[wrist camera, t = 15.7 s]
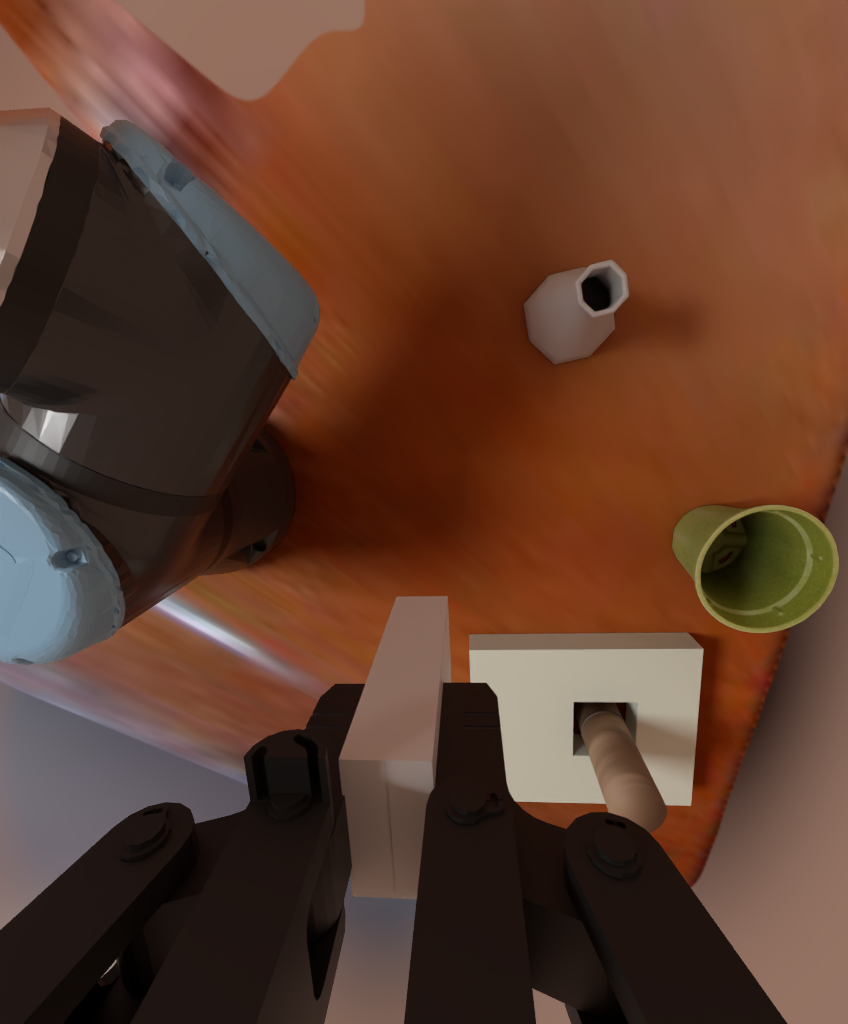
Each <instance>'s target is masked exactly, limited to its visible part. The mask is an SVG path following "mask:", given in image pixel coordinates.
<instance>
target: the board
mask: <svg viewBox="0 0 848 1024" xmlns="http://www.w3.org/2000/svg"><path fill="white" fill-rule="evenodd" d="M703 650H704V649H703V648H702V647H701V646H700V645H699V644H698V643H697V641H696V640H695V639H694V638H693V637H692V636H691V635H690V634H689V633H688V632H683V633H573V634H469V653H470V680H471V683H487V684H488V685H489V686H490V688H491V689H492V690H493V691H494V693H495V694H496V695H497V697H498V707H499V716H500V725H501V735H502V744H503V753H504V762H505V772H506V781H507V786H508V789H509V792H510V794H511V796H512V797H513V799H514V801H520V802H561V803H602V804H606V803H605V800H604V797H603V794H602V791H601V788H600V786H599V783H598V780H597V777H596V774H595V771H594V768H593V766H592V763H591V760H590V757H589V754H588V751H587V748H586V745H585V743H584V741H583V738H582V736H581V734H573V709H574V702H626V718H625V722H626V724H627V727H628V730H629V732H630V734H631V736H632V738H633V740H634V742H635V744H636V746H637V748H638V750H639V752H640V754H641V756H642V758H643V760H644V762H645V764H646V766H647V768H648V770H649V772H650V774H651V776H652V778H653V780H654V782H655V784H656V786H657V788H658V790H659V792H660V794H661V796H662V798H663V800H664V802H665V805H684V806H691V799H692V787H693V774H694V762H695V749H696V737H697V724H698V712H699V699H700V687H701V674H702V662H703Z"/></svg>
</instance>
